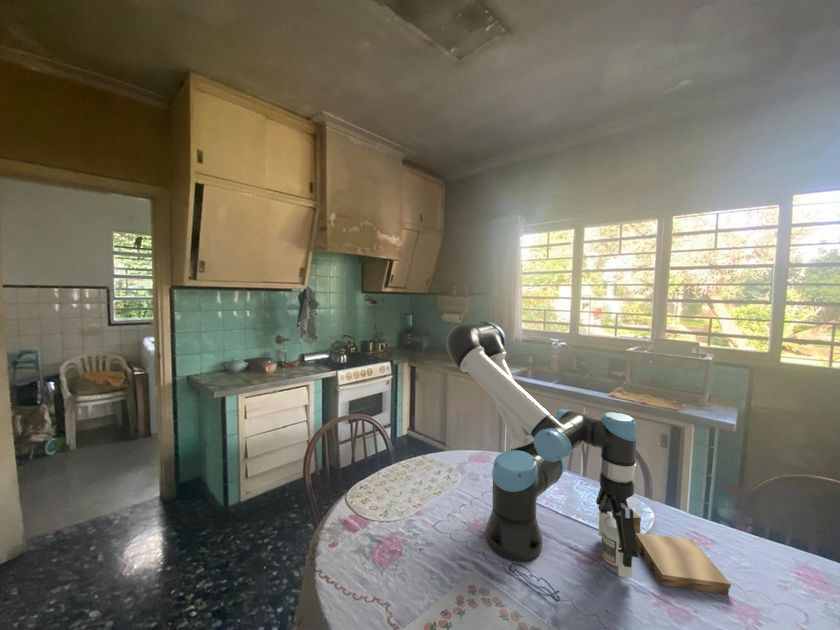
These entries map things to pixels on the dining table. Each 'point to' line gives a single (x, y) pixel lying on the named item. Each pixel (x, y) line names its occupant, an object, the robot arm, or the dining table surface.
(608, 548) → the pill bottle
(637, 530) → the wooden cube
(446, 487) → the dining table surface
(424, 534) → the dining table surface
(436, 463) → the dining table surface
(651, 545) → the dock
